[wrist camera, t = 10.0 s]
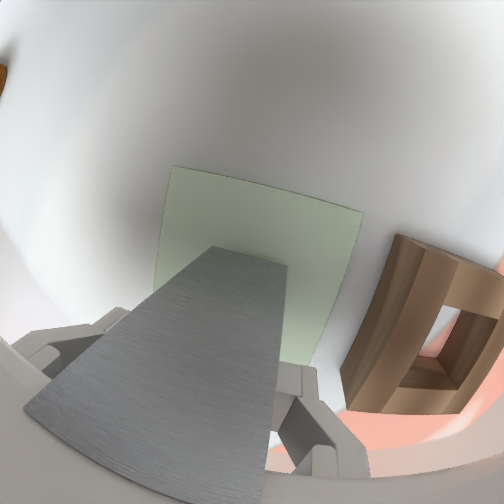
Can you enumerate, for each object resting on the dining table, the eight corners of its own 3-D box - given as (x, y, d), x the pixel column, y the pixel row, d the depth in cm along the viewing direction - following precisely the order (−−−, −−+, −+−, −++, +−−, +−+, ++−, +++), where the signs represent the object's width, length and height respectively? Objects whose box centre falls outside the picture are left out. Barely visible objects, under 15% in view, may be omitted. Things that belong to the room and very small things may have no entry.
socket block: (339, 370, 17) (347, 410, 13) (396, 233, 14) (425, 249, 10) (441, 382, 16) (459, 413, 12) (497, 272, 14) (528, 291, 10)
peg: (200, 311, 15) (75, 488, 4) (212, 245, 14) (22, 407, 3) (268, 331, 15) (217, 547, 3) (287, 265, 14) (256, 518, 2)
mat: (154, 324, 18) (150, 328, 18) (176, 166, 15) (172, 166, 15) (304, 369, 17) (304, 374, 17) (361, 212, 14) (363, 213, 14)
